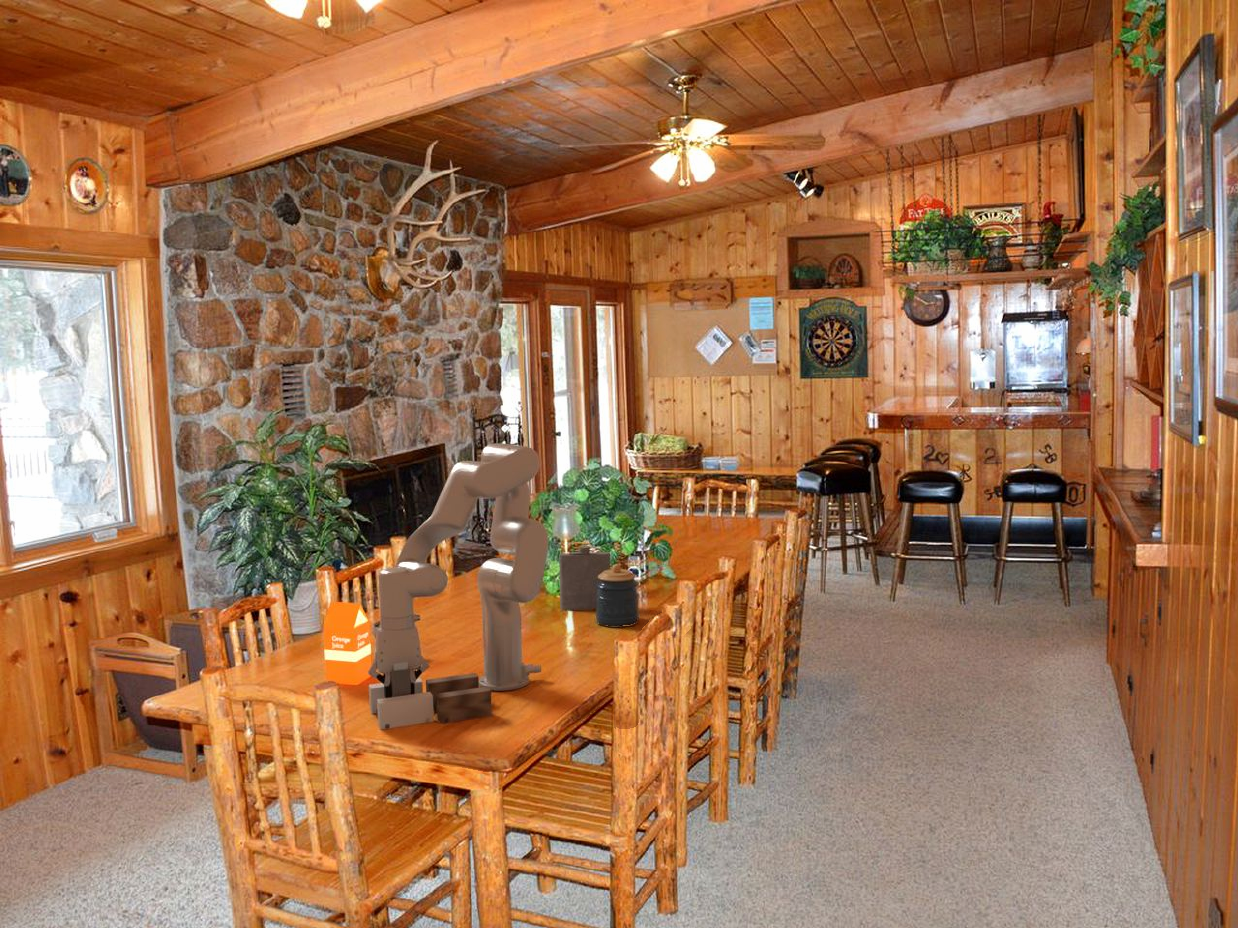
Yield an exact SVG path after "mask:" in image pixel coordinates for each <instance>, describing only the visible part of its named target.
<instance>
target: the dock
mask: <svg viewBox="0 0 1238 928" xmlns="http://www.w3.org/2000/svg"><path fill="white" fill-rule="evenodd" d="M414 685H415V694H412V695H405V696H397V697H390V698H385V696H384V684H383V683H381V682H379V683H373V684H368V696H369V697H368V698H369V712H370V713H371V714H372V715H373V714H376V715H377V726H378V728H379V729H380V730H386V729H393V728H399V727H400V728H401V727H408V726H413V725H419V724H425V723H427V724H428V723H433V722H435V720H434V719H435V717H434V716H435V715H434V708H433V695H432V694H431V693H430V692H426V691H425V692H424V688H423V680H422V679H421V678H420V677H418V678H417V679H416V682H415V683H414Z"/></svg>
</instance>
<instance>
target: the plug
mask: <svg viewBox="0 0 1238 928" xmlns="http://www.w3.org/2000/svg"><path fill="white" fill-rule="evenodd" d="M390 683H391V686H392V697H397V696H405V695H411V681H410V668H408V662H401V663H393V670H392V672H391V678H390Z"/></svg>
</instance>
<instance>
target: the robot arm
mask: <svg viewBox="0 0 1238 928" xmlns="http://www.w3.org/2000/svg"><path fill="white" fill-rule="evenodd" d="M540 460H541V459H540V456H539V454H538V453H537V451H536V450H534V449H533V448H532V447H530V446H524V445H518V444H511V443H510V444H509V443H489V444H488V445H486V446H485V447H484V448H483V449H482V451H481V455H480V461H475V460H463V461H459V462H457V463H456V464H455V465H454V466H453V467H452V469H451V470H450V472H449V475H448V477H447V479H446V482H445V483H444V486H443V489H442V491H441V493H440V495H439V497H438V499H437V502H436V505H435V506H434V508H433V511H432V513H431V515H430V517H428V519H426V520H425V521H424V522H423V523H422V524H421V525H420V526H419V527H418V528H417V529H415V531H414V532H413V533H412V534H411V535H410V536H409V537H408V538H407V539H406V541H405V543H404V545H403V546H402V549H401V551H400V553H399V556H398V557H397V560H396V563H395V565H394V567H392V566H391V567H387V568H385V569H382V570H381V571H380V572H379V574H378V596H379V597H378V598H379V621H380V627H379V628H377V631H376V638H375V637H374V640H375V641H374V661H373V663H371V667H370V669H369V670H368V674H369V675H370V676H371V677H372V678H374V679H376V680H378V681H379V683H383V684H384V696H385V698H390V697H392V686H391V683H390V678H391V672H392V670H393V663H401V662H408V668H410V681H411V695H412V694H415V685H414V683H415V682H416V679H417V678H420V676H421V675H422V673H424V672H425V671H427V670H428V669H429V668H430V664H429V663H428V662H427V661H426V660H425V658H424V657H423V655H422V650H421V649H422V648H421V642H420V641H421V640H420V635H419V630H418V627H417V625H416V624H415V623H416V622H417V621H418V622H419V621H421V615H420V614H415V613H414V611H415V610H414V599H416V598H433V597H436V596H439V595H441V594H442V593H443V592H444V591H445V589H446V588H447V586H448V583H449V577H448V574H447V572H446V571H445V569H444V568H443V567H441V566H439V565H436V564H433V563H429V562H427V559H428V557H429V556H430V554H431V553H432V551H434V549H435V548H436V547H437V546H438V545H439V544H440V543H442V542H444V541H446V540H448V539H450V538H452V537H455V536H457V535H460V534H461V533H462V532H464V531H465V530H466V528H467V525H468V522H469V521H470V518H471V516H472V514H473V511H474V509H475V506H476V504H477V503H478V500H479V499H484V500H485V499H486V500H492V499H495V502H494V504H495V505H494V510H493V515H492V522H491V527H490V533H489V534H490V535H489V541H490V545H491V547H492V548H493V549H494V550H495V551H497V552H500V553H503V554H507V555H512V556H513V557H514V558H513V560H511V559H507V558H501V557H500V558H499V557H494V558H493V557H492V558H490V559H487V560H486V561H484V562H483V563H482V564H481V566H480V567H479V569H478V572H477V578H476V580H477V582H476V583H477V588H478V592H479V596H480V603H481V610H482V611H481V614H482V616H481V617H482V639H483V641H482V643H483V645H482V646H483V668H484V669H483V671H484V673H483V675H481V676H480V677H478V678H479V688H481V687H488V688H489V689H490V690H491V691H495V692H497V691H498V692H500V691H503V692H504V691H511V690H517V689H521V688H523V687H525V686H527V685H528V684H529V683H530V677H529V675H530V674H537V673H538V674H539V673H541V672H542V665H541V664H535V665H534V664H533V663H528V664H525V663H524V662H523V645H522V644H523V642H522V639H523V636H522V613H521V612H522V611H521V607H520V604H527V603H531V602H532V601H534V600H535V599H537V596H538V595H539V593H540V591H541V588H542V586H543V580H544V575H545V570H546V563H547V558H548V552H549V551H548V550H549V539H550V538H549V534H548V530H547V528H546V527H545V525H544V524H543V523H542V522H541V521H539V520H537V519H534V518H529V514H530V513H529V512H530V506H531V504H530V503H531V490H530V487H529V483H528V482H530V481H532V479H534V478H535V477H536V476H537V474H538V472H539V470H540V467H541V466H540V465H541V461H540ZM377 671H378V672H377Z"/></svg>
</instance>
